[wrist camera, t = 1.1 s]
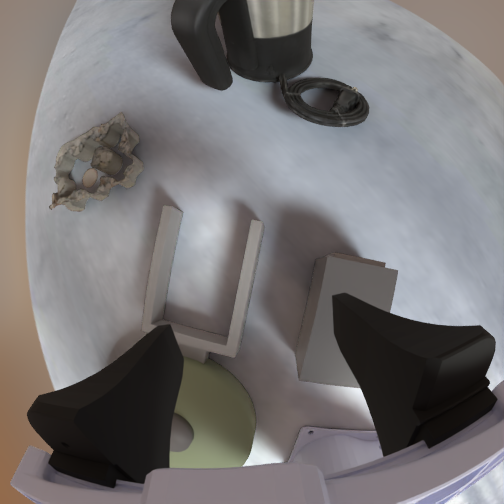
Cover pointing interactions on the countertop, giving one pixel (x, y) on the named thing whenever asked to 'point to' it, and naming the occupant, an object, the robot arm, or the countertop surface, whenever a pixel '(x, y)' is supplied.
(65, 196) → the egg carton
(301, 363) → the grey block with ledge
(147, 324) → the green disc with bracket
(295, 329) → the countertop surface
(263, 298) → the countertop surface
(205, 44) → the milk frother
